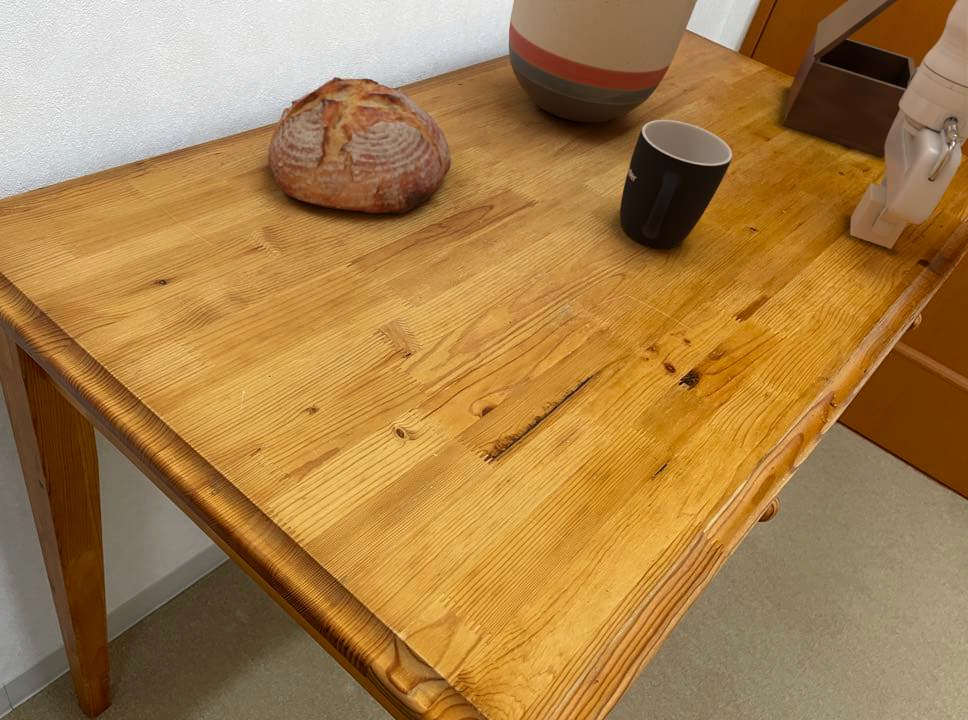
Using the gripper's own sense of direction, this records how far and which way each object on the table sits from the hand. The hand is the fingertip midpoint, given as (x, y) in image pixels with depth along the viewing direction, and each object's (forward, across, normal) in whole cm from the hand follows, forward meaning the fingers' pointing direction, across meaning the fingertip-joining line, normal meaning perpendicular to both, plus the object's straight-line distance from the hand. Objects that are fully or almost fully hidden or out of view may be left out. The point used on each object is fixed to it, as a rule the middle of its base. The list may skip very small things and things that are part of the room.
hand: (877, 220), depth 96 cm
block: (+2, 0, 0) cm, 2 cm away
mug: (+2, -19, +23) cm, 30 cm away
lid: (-14, +32, +8) cm, 36 cm away
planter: (+2, +6, +38) cm, 39 cm away
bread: (+2, -27, +52) cm, 59 cm away
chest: (+2, +32, +5) cm, 32 cm away
